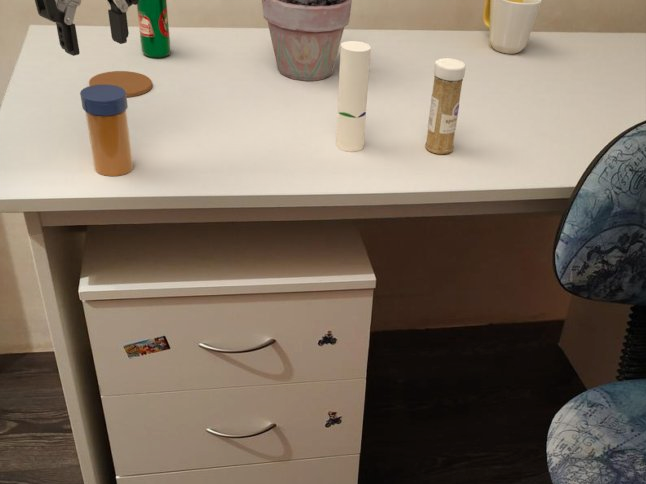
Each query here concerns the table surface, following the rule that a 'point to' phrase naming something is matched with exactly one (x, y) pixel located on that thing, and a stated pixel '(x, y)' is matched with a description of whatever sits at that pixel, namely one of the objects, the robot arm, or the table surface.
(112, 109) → the jar lid
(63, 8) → the robot arm
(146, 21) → the soda can
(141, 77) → the coaster
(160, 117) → the table surface
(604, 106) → the table surface
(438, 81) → the sprinkles bottle
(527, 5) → the mug
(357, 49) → the tube
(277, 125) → the table surface
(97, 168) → the jar
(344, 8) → the potted plant
